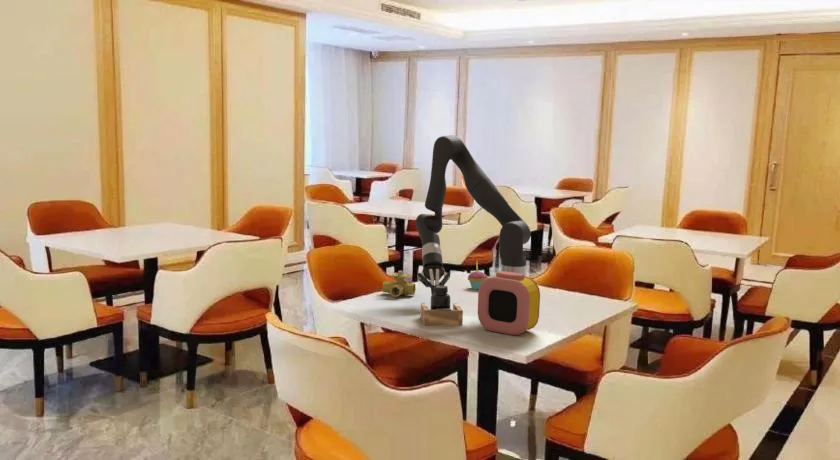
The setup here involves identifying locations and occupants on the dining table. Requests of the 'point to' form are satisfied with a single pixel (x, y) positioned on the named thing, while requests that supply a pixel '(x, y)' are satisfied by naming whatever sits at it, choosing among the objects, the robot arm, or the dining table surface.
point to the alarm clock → (508, 303)
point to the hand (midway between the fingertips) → (435, 295)
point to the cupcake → (476, 278)
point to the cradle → (442, 315)
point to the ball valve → (399, 285)
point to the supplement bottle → (440, 298)
